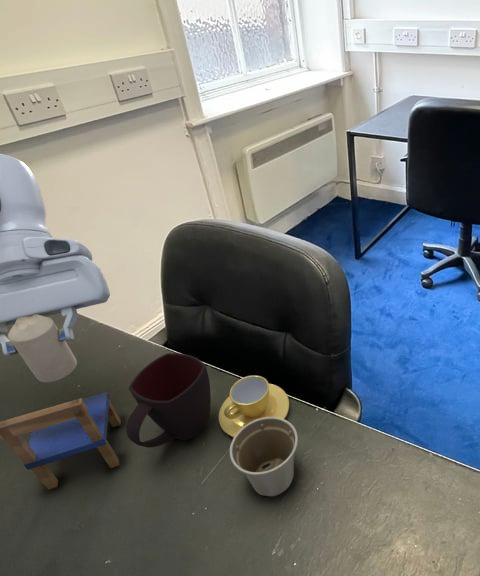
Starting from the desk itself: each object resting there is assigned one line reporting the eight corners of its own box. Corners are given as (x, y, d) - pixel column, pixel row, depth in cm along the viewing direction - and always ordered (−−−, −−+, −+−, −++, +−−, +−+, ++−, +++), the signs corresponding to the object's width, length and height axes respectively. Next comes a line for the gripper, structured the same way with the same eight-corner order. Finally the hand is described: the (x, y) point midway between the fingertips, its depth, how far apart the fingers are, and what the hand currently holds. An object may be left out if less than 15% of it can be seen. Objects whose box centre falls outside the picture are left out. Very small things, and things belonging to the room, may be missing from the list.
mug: (231, 411, 77) (214, 362, 70) (174, 480, 67) (148, 431, 60) (186, 395, 80) (166, 347, 73) (125, 459, 70) (95, 410, 63)
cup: (263, 374, 84) (257, 354, 81) (303, 408, 77) (299, 387, 74) (205, 413, 77) (197, 392, 73) (244, 453, 70) (237, 433, 67)
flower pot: (269, 441, 72) (260, 407, 67) (316, 465, 69) (310, 431, 64) (228, 489, 66) (214, 456, 61) (278, 519, 62) (268, 486, 57)
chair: (55, 439, 73) (10, 377, 64) (122, 418, 77) (87, 357, 68) (46, 491, 66) (-7, 429, 57) (120, 466, 69) (80, 403, 60)
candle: (28, 376, 67) (-7, 327, 61) (61, 353, 71) (31, 305, 66) (52, 387, 66) (19, 337, 60) (85, 362, 70) (57, 313, 64)
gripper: (-81, 270, 60) (-61, 368, 58) (88, 238, 67) (110, 325, 65) (-51, 280, 66) (-33, 369, 64) (101, 250, 73) (121, 330, 71)
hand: (40, 347), depth 65 cm, fingers closed on candle, 5 cm apart
